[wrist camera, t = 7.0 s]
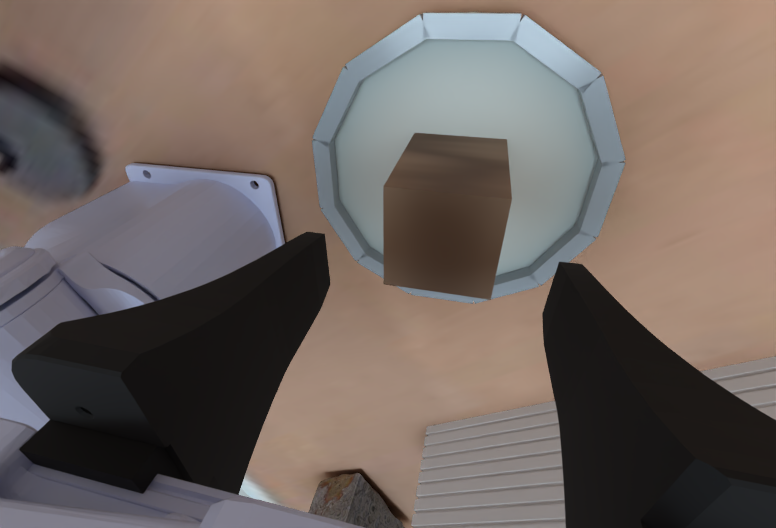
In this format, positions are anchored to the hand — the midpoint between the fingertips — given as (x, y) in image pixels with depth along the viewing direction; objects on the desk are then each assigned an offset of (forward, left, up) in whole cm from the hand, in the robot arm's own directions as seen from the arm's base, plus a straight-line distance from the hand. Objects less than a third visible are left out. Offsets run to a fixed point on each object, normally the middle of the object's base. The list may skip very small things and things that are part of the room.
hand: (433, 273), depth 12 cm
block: (0, 0, -7) cm, 7 cm away
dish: (0, 0, -9) cm, 9 cm away
